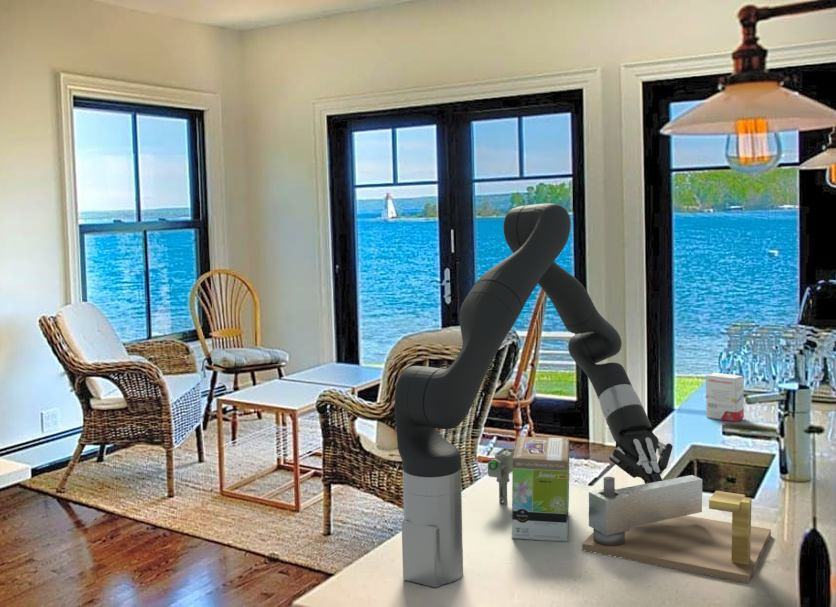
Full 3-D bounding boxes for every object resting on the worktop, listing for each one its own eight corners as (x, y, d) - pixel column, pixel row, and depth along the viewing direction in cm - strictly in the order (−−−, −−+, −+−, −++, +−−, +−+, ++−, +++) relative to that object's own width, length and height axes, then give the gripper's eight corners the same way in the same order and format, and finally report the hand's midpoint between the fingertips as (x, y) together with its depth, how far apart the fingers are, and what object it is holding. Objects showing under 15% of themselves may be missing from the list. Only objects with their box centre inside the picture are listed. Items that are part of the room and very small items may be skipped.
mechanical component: (486, 510, 161) (485, 460, 160) (505, 494, 170) (505, 446, 169) (500, 513, 160) (499, 461, 158) (519, 496, 169) (519, 447, 167)
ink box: (744, 419, 224) (745, 375, 223) (736, 422, 221) (736, 378, 219) (713, 414, 230) (714, 371, 229) (704, 417, 227) (705, 374, 226)
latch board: (748, 583, 128) (750, 507, 126) (582, 550, 141) (581, 481, 140) (770, 535, 145) (772, 468, 144) (620, 510, 159) (621, 449, 158)
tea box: (569, 542, 145) (569, 459, 143) (510, 540, 147) (510, 457, 145) (569, 511, 160) (569, 435, 158) (516, 509, 161) (515, 434, 160)
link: (606, 535, 139) (606, 500, 138) (588, 525, 143) (588, 491, 143) (706, 514, 148) (706, 480, 147) (687, 505, 152) (687, 473, 151)
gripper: (600, 406, 157) (635, 489, 147) (662, 399, 161) (700, 480, 151) (586, 426, 163) (619, 508, 153) (646, 420, 167) (682, 500, 156)
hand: (659, 494), depth 152 cm, fingers closed
